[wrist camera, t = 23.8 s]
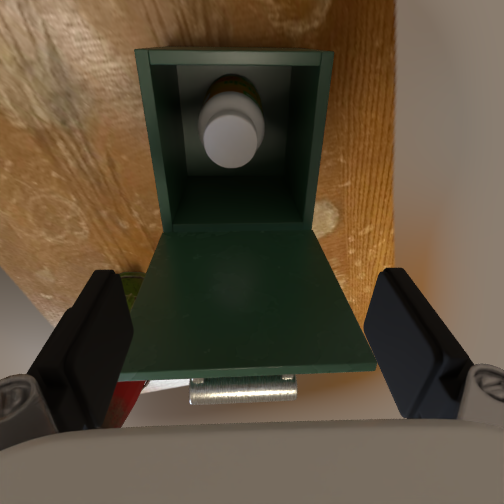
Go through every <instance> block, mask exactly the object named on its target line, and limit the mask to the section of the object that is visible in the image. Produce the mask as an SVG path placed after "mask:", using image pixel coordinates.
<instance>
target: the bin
mask: <svg viewBox="0 0 504 504" xmlns="http://www.w3.org/2000/svg"><path fill="white" fill-rule="evenodd" d="M134 52H135V58H136V64H137V70H138V76H139V83H140V89H141V95H142V101H143V107H144V114H145V120H146V126H147V132H148V139H149V145H150V151H151V157H152V163H153V170H154V176H155V182H156V188H157V194H158V201H159V207H160V213H161V219H162V225H163V232H164V233H168V232H224V231H280V230H311V229H312V222H313V214H314V206H315V198H316V191H317V183H318V175H319V167H320V160H321V152H322V144H323V136H324V129H325V121H326V113H327V105H328V98H329V90H330V82H331V74H332V66H333V59H334V52H333V51H324V50H315V49H305V48H265V47H182V46H165V47H154V48H142V49H134ZM230 74H234V75H239V76H242V77H244V78H246V79H248V80H249V81H250V82H251V83H252V84H253V85H254V86H255V87H256V89H257V91H258V93H259V96H260V99H261V105H262V111H263V117H264V123H265V132H264V137H263V140H262V143H261V145H260V146H259V148H258V149H257V151H256V152H255V154H254V156H253V158H252V159H251V160H250V161H249V162H248V163H246V164H245V165H243V166H241V167H237V168H225V167H222V166H220V165H218V164H216V163H215V162H213V161H212V160H211V159H210V158H209V156H208V155H207V153H206V151H205V148H204V146H203V144H202V142H201V140H200V137H199V133H198V118H199V114H200V111H201V108H202V105H203V102H204V99H205V96H206V93H207V91H208V89H209V87H210V86H211V84H212V83H213V82H214V81H215V80H217V79H218V78H220V77H222V76H225V75H230Z"/></svg>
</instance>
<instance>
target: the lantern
mask: <svg viewBox="0 0 504 504" xmlns="http://www.w3.org/2000/svg"><path fill="white" fill-rule="evenodd" d="M119 275H120V277H121V280H122V284H123V288H124V292H125V296H126V300H127V304H128V308H129V312H131V309H132V307H133V304H134V302H135V300H136V297H137V295H138V292H139V290H140V287H141V285H142V282H143V280H144V277H145V275H146V273H142V272H123V273H120V274H119ZM145 382H146V383H145ZM149 382H150V380H147V381H146V380H145V381H121V382H117V385H116V387H115V390H114V393H113V396H112V399H111V402H110V405H109V408H108V411H107V413H106V416H105V419H104V422H103V424H102V426H101V427H97V428H96V429H108V428H121V427H122V425H123V423H124V422H125V420H126V418H127V417H128V415H129V413H130V411H131V410H132V408H133V406H134V405H135V403H136V401H137V399H138V396H139V395H140V392H141V391H142V390H143V389H144V388H145V387H146V386H147V385H148V384H149ZM144 384H145V385H144Z"/></svg>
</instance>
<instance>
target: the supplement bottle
mask: <svg viewBox="0 0 504 504" xmlns="http://www.w3.org/2000/svg"><path fill="white" fill-rule="evenodd" d="M264 132H265V123H264V117H263V111H262V105H261V99H260V96H259V93H258V91H257V89H256V87H255V86H254V85H253V84H252V83H251V82H250V81H249V80H248V79H246V78H244V77H242V76H239V75H234V74H230V75H225V76H222V77H220V78H218V79H217V80H215V81H214V82H213V83H212V84H211V86H210V87H209V89H208V91H207V93H206V96H205V99H204V102H203V105H202V108H201V111H200V114H199V118H198V133H199V137H200V140H201V142H202V144H203V146H204V148H205V151H206V153H207V155H208V156H209V158H210V159H211V160H212V161H213V162H215V163H216V164H218V165H220V166H222V167H225V168H237V167H241V166H243V165H245V164H246V163H248V162H249V161H250V160H251V159H252V158H253V156H254V154H255V152H256V151H257V149H258V148H259V146H260V145H261V143H262V140H263V137H264Z"/></svg>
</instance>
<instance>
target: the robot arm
mask: <svg viewBox="0 0 504 504" xmlns="http://www.w3.org/2000/svg"><path fill="white" fill-rule="evenodd" d="M133 333H134V329H133V324H132V320H131V316H130V312H129V308H128V304H127V300H126V296H125V292H124V288H123V284H122V280H121V277H120V275H119V274H115V272H114V270H95V271H94V272H93V274H92V276H91V277H90V279H89V280H88V282H87V284H86V285H85V287H84V289H83V290H82V292H81V293H80V295H79V297H78V298H77V300H76V302H75V303H74V305H73V306H72V308H69V309H67V311H66V312H65V313H64V315H63V316H62V318H61V319H60V321H59V323H58V324H57V326H56V327H55V329H54V331H53V332H52V334H51V335H50V337H49V339H48V340H47V342H46V343H45V345H44V347H43V348H42V350H41V351H40V353H39V355H38V356H37V358H36V359H35V361H34V362H33V364H32V366H31V367H30V369H29V370H28V372H27V374H17V375H12V376H8V377H6V378H4V379H1V380H0V504H504V370H503V369H501V368H498V367H496V366H493V365H489V364H476V365H474V364H473V362H472V361H471V360H470V358H469V356H468V355H467V353H466V352H465V351H464V349H463V348H462V347H461V345H460V344H459V343H458V341H457V340H456V339H455V337H454V336H453V335H452V333H451V332H450V331H449V329H448V328H447V326H446V325H445V324H444V322H443V321H442V320H441V318H440V317H439V316H438V314H437V313H436V312H435V310H434V309H433V308H432V306H431V305H430V304H429V302H428V301H427V299H426V298H425V297H424V295H423V294H422V293H421V291H420V290H419V289H418V288H417V286H416V285H415V283H414V282H413V281H412V279H411V278H410V277H409V275H408V274H407V273H406V271H405V270H404V269H403V268H385V269H384V271H383V272H380V273H379V275H378V278H377V281H376V285H375V288H374V291H373V295H372V298H371V301H370V305H369V308H368V312H367V315H366V318H365V322H364V333H365V335H366V338H367V340H368V342H369V344H370V347H371V349H372V351H373V353H374V356H375V358H376V360H377V362H378V365H379V367H380V369H381V371H382V373H383V376H384V378H385V380H386V383H387V385H388V387H389V389H390V392H391V394H392V396H393V398H394V401H395V403H396V405H397V407H398V410H399V412H400V414H401V415H402V417H404V418H407V419H374V420H373V419H370V420H335V421H334V420H331V421H297V422H295V421H294V422H264V423H263V422H262V423H234V424H233V423H232V424H231V423H230V424H201V425H176V426H148V427H147V426H146V427H128V428H108V429H96V428H97V427H101V426H102V424H103V422H104V419H105V416H106V413H107V411H108V408H109V405H110V402H111V399H112V396H113V393H114V390H115V387H116V385H117V382H118V379H119V376H120V373H121V370H122V367H123V364H124V361H125V359H126V356H127V353H128V350H129V347H130V344H131V341H132V338H133Z"/></svg>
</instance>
